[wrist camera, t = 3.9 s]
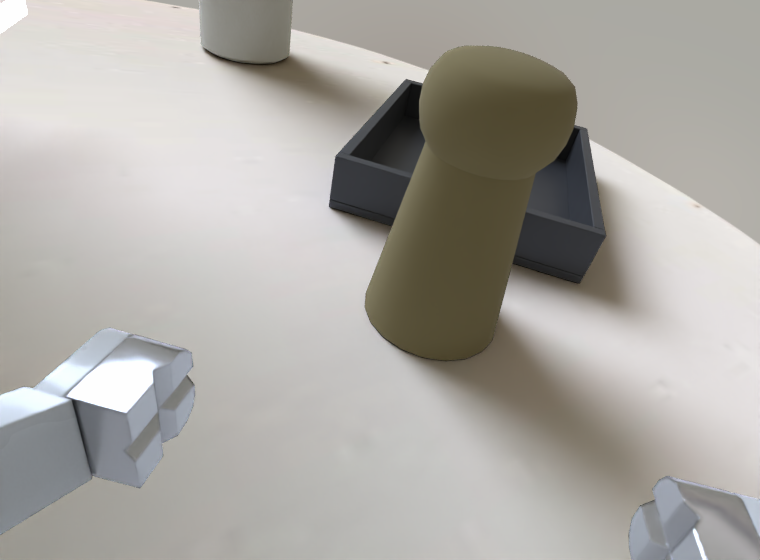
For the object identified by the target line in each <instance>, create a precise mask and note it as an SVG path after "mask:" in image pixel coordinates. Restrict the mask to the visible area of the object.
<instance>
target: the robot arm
mask: <svg viewBox="0 0 760 560" xmlns="http://www.w3.org/2000/svg"><path fill="white" fill-rule="evenodd" d="M27 14H28V12H27V7H26V3H25V0H6V1H4V2H3V3H1V4H0V33H2V32H3V31H5V30H6V29H7V28H9V27H10V26H12V25H13V24H14V23H16V22H17V21H19V20H20V19H21V18H23V17H24V16H26V15H27ZM192 367H193V360H192V352H190V351H188V350H187V349H184V348H180V347H177V346H173V345H170V344H167V343H163V342H160V341H156V340H153V339H149V338H146V337H143V336H139V335H136V334H135V335H134V334H131V333H127V332H124V331H120V330H117V329H113V328H110V327H109V328H106V329H103V330H100V331H99V332H97V333H96V334H95V335H94V336H93V337H92V338H90V339H89V340H88V341H87V342H86V343H85V344H84V345H82V346H81V347H80V348H79V349H78V350H77V351H75V352H74V353H73V354H72V355H71V356H70V357H69V358H67V359H66V360H65V361H64V362H63V363H62V364H60V365H59V366H58V367H57V368H56V369H55V370H54V371H52V372H51V373H50V374H49V375H48V376H47V377H46V378H44V379H43V380H42V381H41V382H40V383H39V384H37V385H36V386H35V387H34V388H29V387H25V386H24V387H21V388H19V389H16V390H13V391H10V392H7V393H4V394H2V395H0V535H1V534H3V533H4V532H6V531H8V530H9V529H11V528H12V527H14V526H16V525H17V524H19V523H21V522H22V521H24V520H26V519H27V518H29V517H30V516H32V515H34V514H35V513H37V512H39V511H40V510H42V509H44V508H45V507H47V506H49V505H50V504H52V503H53V502H55V501H57V500H58V499H60V498H62V497H63V496H65V495H67V494H68V493H70V492H71V491H73V490H75V489H76V488H78V487H80V486H81V485H83V484H85V483H86V482H88V481H89V480H91V479H92V476H95V477H99V478H102V479H106V480H110V481H114V482H118V483H122V484H125V485H129V486H133V487H137V488H141V486H142V485H143V484H144V482H145V481H146V479H147V478H148V477H149V475H150V474H151V472H152V471H153V470H154V468H155V467H156V465H157V464H158V463H159V461H160V460H161V458H162V457H163V447H162V443H164V442H166V441H168V440H170V439H172V438H174V437H176V436H178V434H179V433H180V431H181V430H182V428H183V427H184V426H185V424H186V423H187V420H188V418H189V415H190V413H191V411H192V408H193V404H194V398H195V385H194V383H193V382H192V381H191V379H190V378H189V377H188V375H187V374H188V372H189V371H190V370H191V369H192ZM652 490H653V494H654V497H655V500H654V501H651V502H648V503H645V504H643V505H640V506H639V508H638V509H637V511H636V513H635V514H634V516H633V517H632V520H631V525H630V530H629V550H630V554H631V559H632V560H760V499H756V498H753V497H749V496H745V495H741V494H737V493H731V492H729V491H726V490H722V489H718V488H714V487H710V486H706V485H702V484H698V483H694V482H690V481H686V480H682V479H678V478H674V477H670V476H666V477H664V478H662V479H659V481H658V482H657V483H656V485H655V486H654V487H653V488H652Z"/></svg>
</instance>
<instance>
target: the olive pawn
mask: <svg viewBox="0 0 760 560" xmlns="http://www.w3.org/2000/svg"><path fill="white" fill-rule="evenodd" d="M576 112H577V97H576V91H575V86H574V85H573V84H572V83H571V81H570V80H569V79H568V78H567V76H566V75H565V74H564V73H563V72H561V71H560V70H558V69H557V68H555V67H553V66H551V65H550V64H548V63H546V62H544V61H542V60H540V59H537V58H535V57H533V56H530V55H527V54H525V53H521V52H518V51H514V50H511V49H506V48H501V47H493V46H462V47H457V48H454V49H451V50H449V51H447V52H445V53H444V54H443V55H442V56H441V57H440V58H439V59H438V60H437V61H436V63H435V64H434V65H433V66H432V67H431V68H430V70H429V72H428V74H427V76H426V78H425V80H424V82H423V85H422V90H421V95H420V99H419V120H420V128H421V131H422V133H423V136H424V138H425V141H426V142H425V144H424V147H423V149H422V152H421V154H420V157H419V159H418V162H417V165H416V167H415V170H414V172H413V175H412V177H411V180H410V182H409V185H408V187H407V190H406V192H405V195H404V198H403V200H402V203H401V205H400V208H399V210H398V213H397V215H396V218H395V220H394V223H393V225H392V228H391V231H390V233H389V236H388V238H387V241H386V243H385V246H384V248H383V251H382V253H381V256H380V258H379V261H378V264H377V266H376V269H375V271H374V274H373V276H372V279H371V281H370V284H369V286H368V289H367V292H366V297H365V309H366V312H367V314H368V317H369V320H370V322H371V323H372V324H373V326H374V327H375V328H376V329H377V330H378V332H379V333H380V334H381V335H382V336H383V337H384V338H385V339H387V340H388V341H390V342H391V343H393V344H394V345H396V346H397V347H399V348H400V349H402V350H405V351H407V352H410V353H412V354H415V355H418V356H420V357H423V358H429V359H436V360H443V361H449V360H458V359H466V358H469V357H471V356H473V355H475V354H478V353H480V352H482V351H483V350H484V349H485V348H486V347H487V346H488V345H489V343H490V342H491V341H492V340H493V336H494V332H495V328H496V324H497V320H498V317H499V313H500V309H501V305H502V301H503V297H504V294H505V290H506V286H507V282H508V278H509V274H510V270H511V267H512V263H513V259H514V255H515V251H516V247H517V243H518V240H519V236H520V232H521V228H522V224H523V220H524V217H525V213H526V209H527V205H528V201H529V197H530V193H531V190H532V186H533V182H534V178H535V174H536V173H537V172H538V171H540V170H541V169H543V168H544V167H546V166H547V165H549V164H550V163H552V162H553V161H554V160H555V159H556V158H557V156H558V155H559V154H560V153H561V151H562V150H563V149H564V147H565V146H566V144H567V142H568V140H569V138H570V135H571V133H572V131H573V129H574V124H575V118H576Z"/></svg>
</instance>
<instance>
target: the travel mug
mask: <svg viewBox="0 0 760 560" xmlns="http://www.w3.org/2000/svg"><path fill="white" fill-rule="evenodd" d="M292 3H293V0H199V12H200V36H201V45H202V46H203V47H204V48H206V49H207V50H208V51H210V52H211V53H213V54H215V55H217V56H219V57H221V58H225V59H229V60H232V61H236V62H242V63H253V64H268V63H275V62H278V61H281V60H283V59H285V58H287V57H288V56H289V51H290V36H291V20H292Z"/></svg>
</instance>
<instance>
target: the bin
mask: <svg viewBox="0 0 760 560" xmlns="http://www.w3.org/2000/svg"><path fill="white" fill-rule="evenodd" d="M422 85H423V84H422V83H419V82H415V81H411V80H408V79H406V80H405V81H404V82H403V83H402V84H401V85H400V86H399V87H398V88H397V89H396V91H395V92H394V93H393V94H392V95H391V96H390V97H389V98H388V99H387V100H386V101H385V103H384V104H383V105H382V106H381V107H380V108H379V109H378V110H377V111H376V112H375V114H374V115H373V116H372V117H371V118H370V119H369V120H368V121H367V122H366V123H365V125H364V126H363V127H362V128H361V129H360V130H359V131H358V132H357V133H356V134H355V135H354V137H353V138H352V139H351V140H350V141H349V142H348V143H347V144H346V145H345V146H344V148H343V149H342V150H341V151H340V152H339V153H338V154H337V155H336V156H335V164H334V171H333V179H332V186H331V194H330V202H329V207H332V208H335V209H338V210H342V211H345V212H348V213H351V214H355V215H358V216H361V217H364V218H368V219H371V220H374V221H377V222H381V223H384V224H387V225H390V226H392V225H393V223H394V220H395V218H396V215H397V213H398V210H399V208H400V205H401V203H402V200H403V198H404V195H405V192H406V190H407V187H408V185H409V182H410V180H411V177H412V175H413V172H414V170H415V167H416V165H417V162H418V159H419V157H420V154H421V152H422V149H423V147H424V144H425V142H426V141H425V138H424V136H423V133H422V131H421V128H420V120H419V99H420V95H421V90H422ZM605 237H606V233H605V229H604V223H603V217H602V211H601V206H600V200H599V194H598V189H597V183H596V177H595V171H594V166H593V160H592V154H591V148H590V143H589V137H588V132H587V129H586V128H583V127H579V126H576V125H574V129H573V131H572V133H571V135H570V138H569V140H568V142H567V144H566V146H565V147H564V149H563V150H562V151H561V153H560V154H559V155H558V156H557V158H556V159H555V160H554V161H553V162H552V163H550V164H549V165H547V166H546V167H544V168H543V169H541V170H540V171H538V172H537V173H536V174H535V178H534V182H533V186H532V190H531V193H530V197H529V201H528V205H527V209H526V213H525V217H524V220H523V224H522V228H521V232H520V236H519V240H518V243H517V247H516V251H515V255H514V259H513V263H514V264H517V265H520V266H524V267H527V268H530V269H533V270H537V271H540V272H543V273H546V274H550V275H553V276H556V277H559V278H563V279H566V280H569V281H572V282H576V283H580V282H581V280H582V278H583V276H584V275H585V273H586V271H587V270H588V268H589V266H590V264H591V262H592V261H593V259H594V257H595V255H596V253H597V252H598V250H599V248H600V246H601V244H602V242H603V241H604V239H605Z"/></svg>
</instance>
